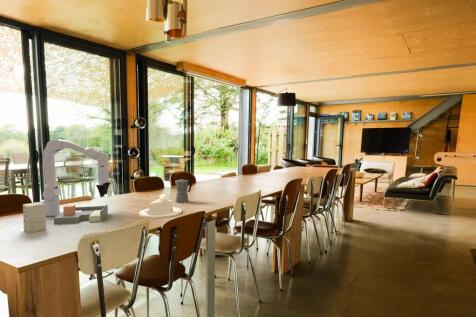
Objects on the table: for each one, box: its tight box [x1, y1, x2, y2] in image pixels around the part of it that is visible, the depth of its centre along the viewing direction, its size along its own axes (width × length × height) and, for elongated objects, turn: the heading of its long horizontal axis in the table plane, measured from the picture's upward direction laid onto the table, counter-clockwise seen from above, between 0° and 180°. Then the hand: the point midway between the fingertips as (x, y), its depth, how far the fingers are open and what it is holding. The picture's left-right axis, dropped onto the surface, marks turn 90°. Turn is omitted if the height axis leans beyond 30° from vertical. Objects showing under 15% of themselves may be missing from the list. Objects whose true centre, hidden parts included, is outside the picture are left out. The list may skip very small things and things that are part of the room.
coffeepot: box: [174, 176, 193, 204], centre depth 203 cm, size 15×9×18 cm, turn 62°
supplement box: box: [22, 201, 47, 234], centre depth 137 cm, size 7×7×13 cm
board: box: [53, 204, 109, 225], centre depth 157 cm, size 23×16×6 cm
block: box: [62, 204, 76, 215], centre depth 156 cm, size 4×4×4 cm
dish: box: [138, 193, 183, 219], centre depth 171 cm, size 25×25×11 cm
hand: (103, 195), depth 172 cm, fingers open, 7 cm apart
